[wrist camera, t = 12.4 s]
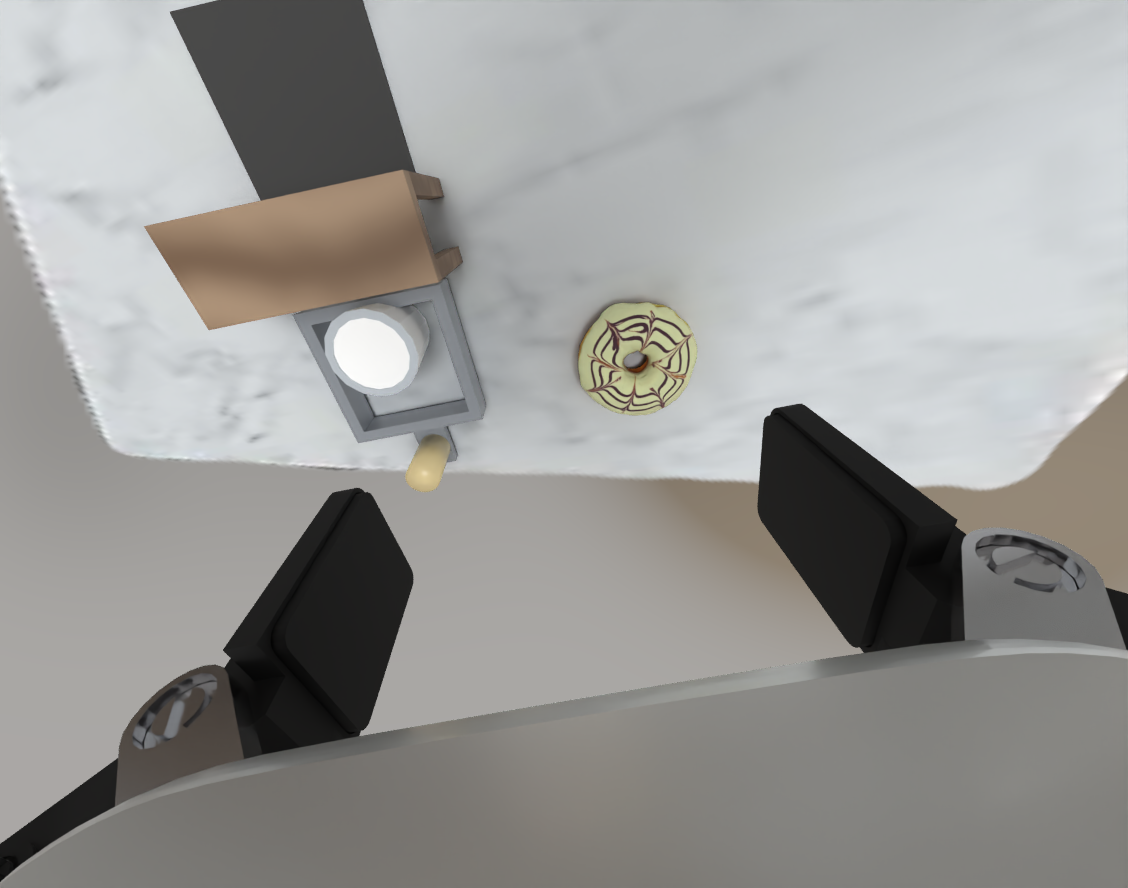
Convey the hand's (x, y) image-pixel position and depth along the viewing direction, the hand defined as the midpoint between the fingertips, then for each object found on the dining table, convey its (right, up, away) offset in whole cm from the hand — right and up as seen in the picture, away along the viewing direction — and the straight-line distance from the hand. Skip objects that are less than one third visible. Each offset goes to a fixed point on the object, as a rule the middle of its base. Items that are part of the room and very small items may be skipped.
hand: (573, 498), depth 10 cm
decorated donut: (+6, +10, +30) cm, 33 cm away
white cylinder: (-15, +12, +28) cm, 34 cm away
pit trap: (-18, +25, +19) cm, 37 cm away
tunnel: (-17, +18, +24) cm, 34 cm away
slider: (-15, +9, +28) cm, 33 cm away
